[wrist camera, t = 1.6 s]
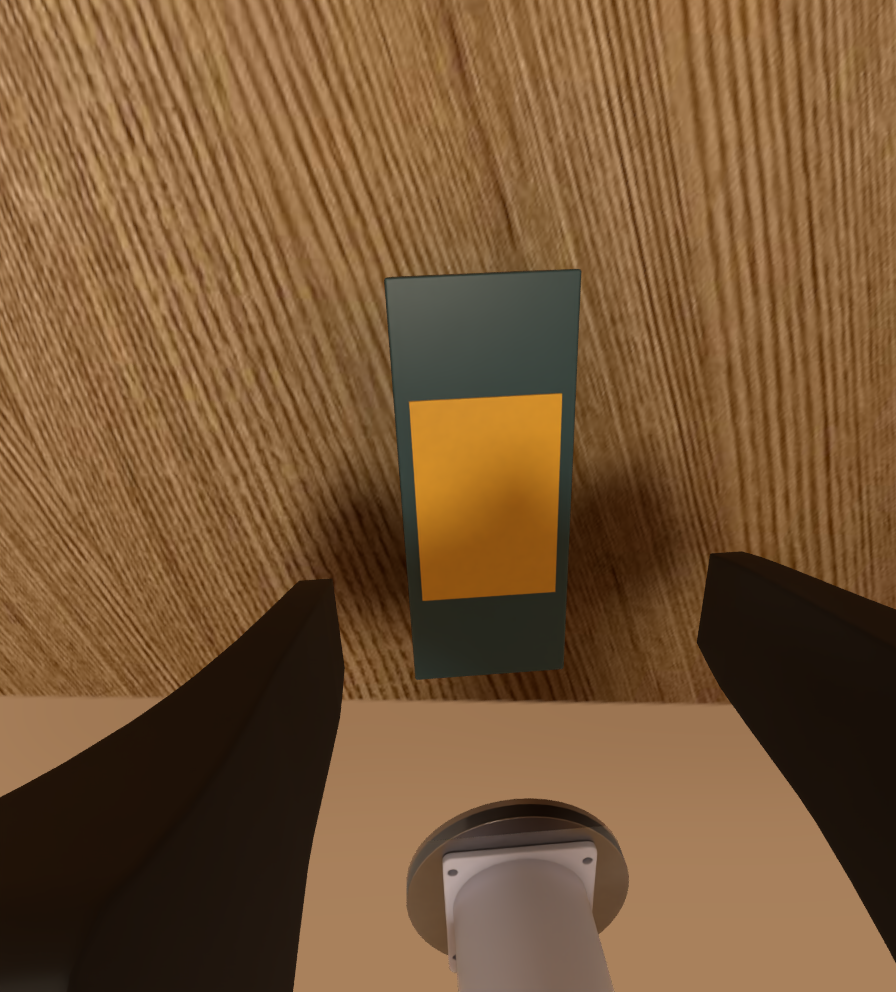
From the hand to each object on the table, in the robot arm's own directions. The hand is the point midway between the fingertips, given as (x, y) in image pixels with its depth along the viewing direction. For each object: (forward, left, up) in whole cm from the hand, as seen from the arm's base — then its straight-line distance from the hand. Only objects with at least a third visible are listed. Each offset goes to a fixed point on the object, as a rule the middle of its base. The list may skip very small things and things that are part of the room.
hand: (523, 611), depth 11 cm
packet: (0, 0, -9) cm, 9 cm away
